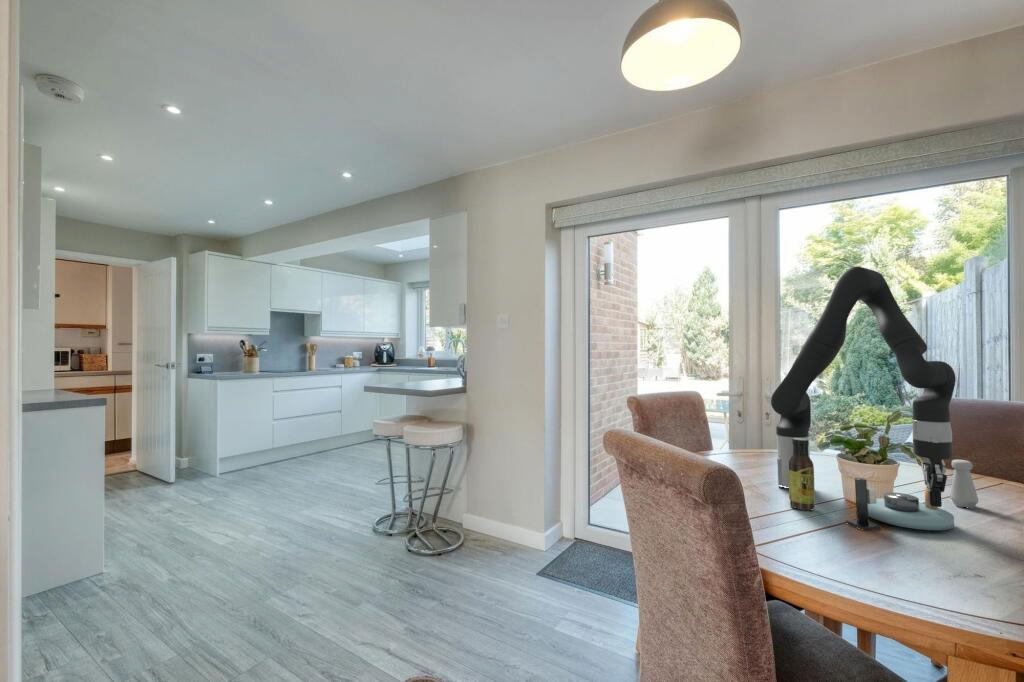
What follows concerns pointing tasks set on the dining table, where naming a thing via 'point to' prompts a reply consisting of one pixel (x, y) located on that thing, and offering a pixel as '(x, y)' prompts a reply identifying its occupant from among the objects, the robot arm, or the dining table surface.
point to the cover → (901, 502)
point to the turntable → (913, 516)
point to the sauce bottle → (801, 476)
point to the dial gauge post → (863, 505)
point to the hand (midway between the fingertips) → (935, 505)
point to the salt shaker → (963, 485)
